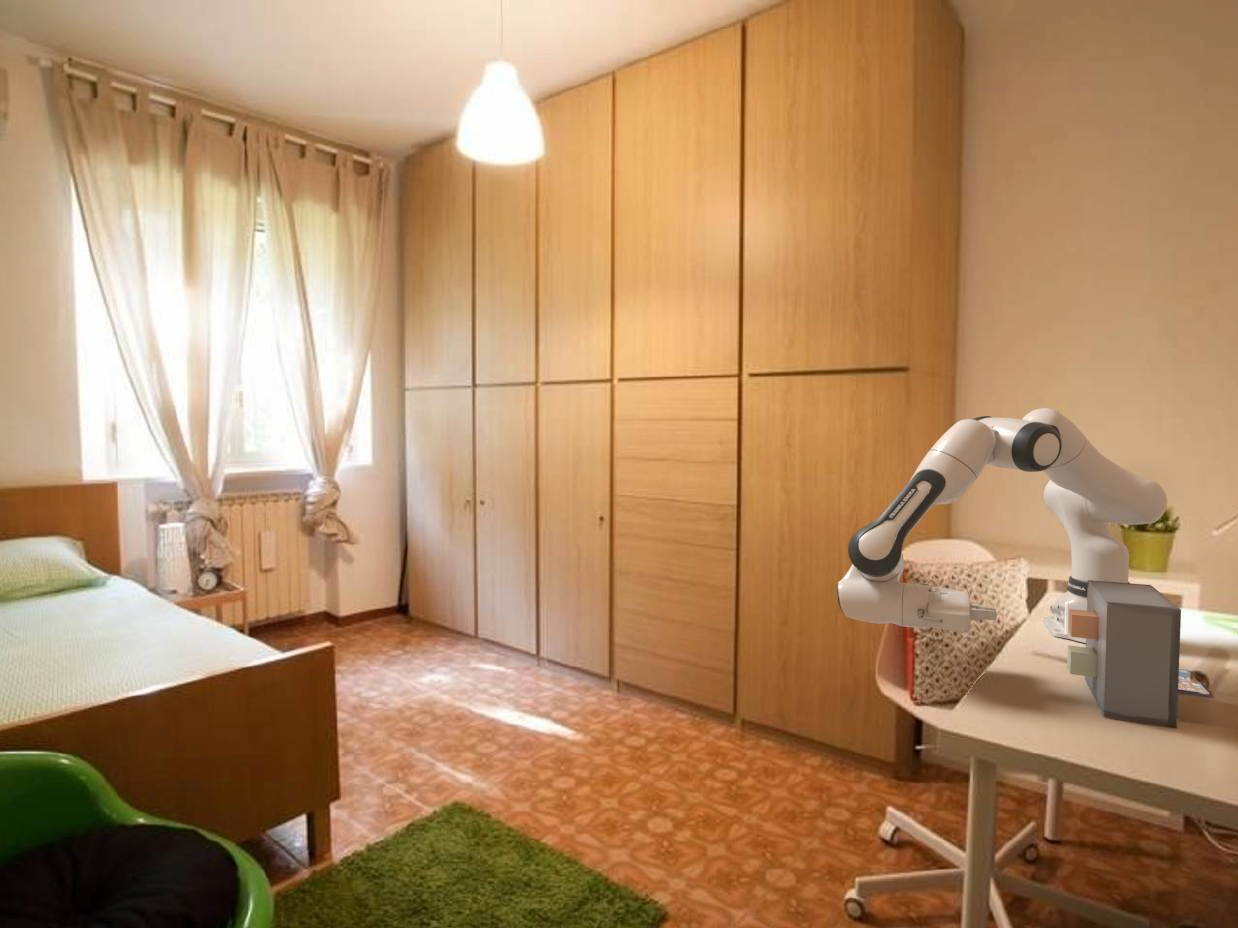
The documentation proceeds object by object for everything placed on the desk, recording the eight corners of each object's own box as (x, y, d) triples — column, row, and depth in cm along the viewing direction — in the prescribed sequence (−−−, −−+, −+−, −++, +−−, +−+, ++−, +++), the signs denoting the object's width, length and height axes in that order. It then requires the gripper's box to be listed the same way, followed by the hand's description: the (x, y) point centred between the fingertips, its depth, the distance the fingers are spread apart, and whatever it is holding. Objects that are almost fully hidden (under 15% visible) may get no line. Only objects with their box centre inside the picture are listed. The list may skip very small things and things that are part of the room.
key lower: (1070, 673, 126) (1071, 651, 125) (1067, 666, 129) (1067, 645, 129) (1103, 678, 123) (1103, 655, 123) (1098, 670, 127) (1099, 648, 127)
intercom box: (1103, 717, 117) (1107, 603, 116) (1084, 679, 135) (1087, 579, 134) (1176, 728, 113) (1181, 609, 112) (1147, 687, 130) (1150, 584, 129)
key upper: (1071, 636, 125) (1072, 614, 125) (1068, 630, 129) (1068, 609, 129) (1104, 640, 123) (1104, 617, 123) (1099, 634, 127) (1100, 612, 127)
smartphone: (1189, 674, 138) (1214, 700, 125) (1145, 668, 142) (1164, 693, 128) (1190, 670, 138) (1214, 695, 125) (1145, 664, 142) (1164, 688, 128)
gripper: (916, 602, 129) (999, 610, 123) (922, 581, 148) (994, 587, 141) (916, 635, 130) (998, 645, 123) (921, 609, 148) (993, 617, 142)
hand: (996, 614), depth 133 cm, fingers closed
